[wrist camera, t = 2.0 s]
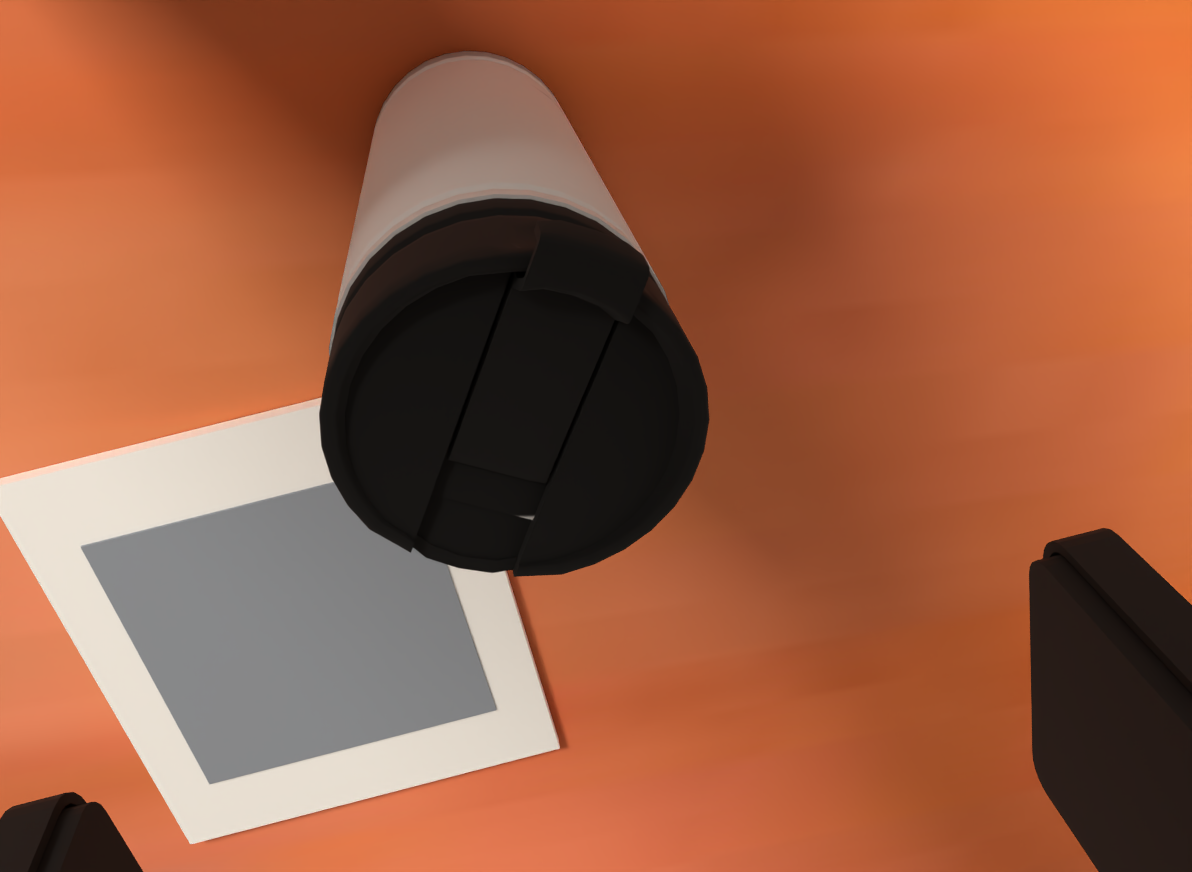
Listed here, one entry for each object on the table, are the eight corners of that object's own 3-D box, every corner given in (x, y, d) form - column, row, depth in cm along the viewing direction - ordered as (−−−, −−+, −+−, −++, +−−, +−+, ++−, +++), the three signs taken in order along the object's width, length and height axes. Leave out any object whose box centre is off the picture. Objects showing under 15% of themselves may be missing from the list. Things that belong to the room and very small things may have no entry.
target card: (-9, 480, 37) (-17, 490, 36) (443, 366, 37) (443, 375, 37) (193, 833, 45) (190, 846, 45) (558, 738, 46) (560, 750, 45)
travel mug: (603, 80, 33) (795, 308, 16) (533, 272, 36) (633, 651, 18) (408, 6, 32) (382, 172, 14) (349, 214, 34) (267, 571, 17)
